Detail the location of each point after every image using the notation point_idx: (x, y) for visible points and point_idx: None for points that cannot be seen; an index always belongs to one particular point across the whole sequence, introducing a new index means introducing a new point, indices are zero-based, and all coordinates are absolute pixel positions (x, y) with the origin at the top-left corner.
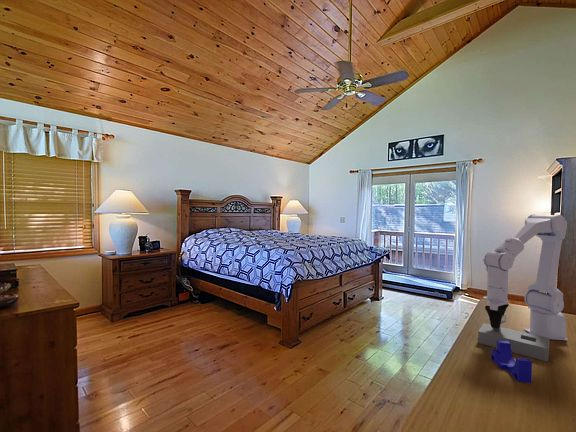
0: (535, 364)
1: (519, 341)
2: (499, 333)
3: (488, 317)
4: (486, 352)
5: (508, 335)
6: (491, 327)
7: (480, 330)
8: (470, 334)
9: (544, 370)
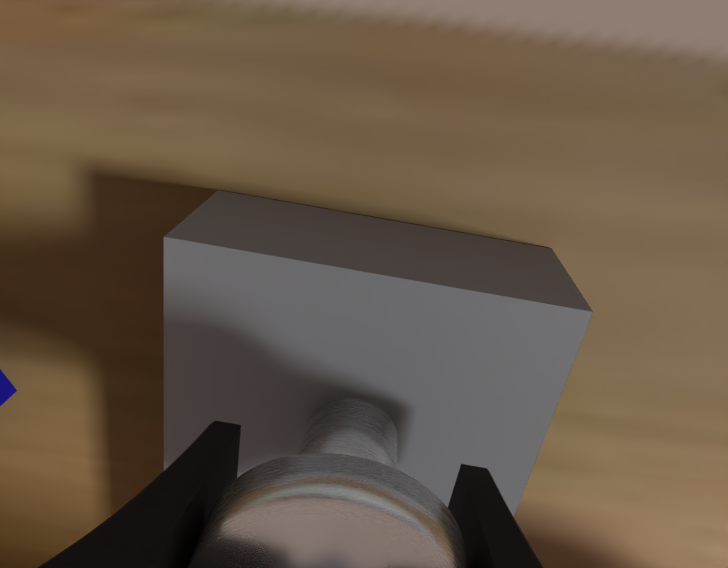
0: (97, 526)
1: None
2: (268, 445)
3: (269, 481)
4: (33, 258)
5: None
6: (442, 386)
7: (220, 263)
8: (445, 105)
9: (44, 550)
